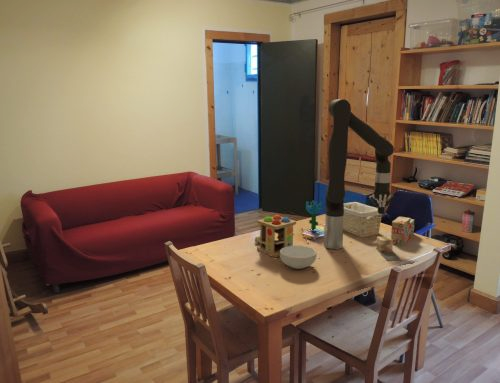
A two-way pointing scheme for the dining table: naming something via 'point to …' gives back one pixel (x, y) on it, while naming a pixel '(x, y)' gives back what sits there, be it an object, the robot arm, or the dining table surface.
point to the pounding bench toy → (267, 234)
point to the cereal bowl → (298, 256)
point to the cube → (384, 244)
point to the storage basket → (361, 219)
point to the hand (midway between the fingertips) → (380, 213)
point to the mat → (390, 256)
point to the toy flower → (313, 212)
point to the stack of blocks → (402, 230)
